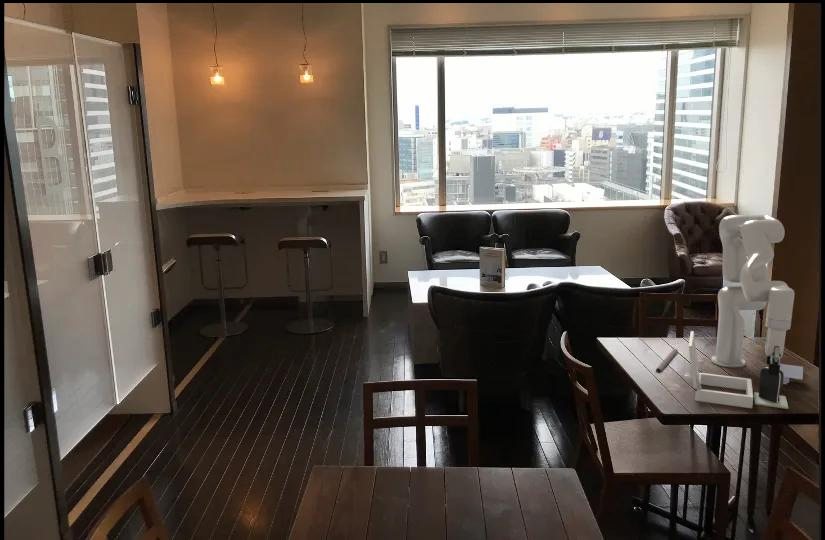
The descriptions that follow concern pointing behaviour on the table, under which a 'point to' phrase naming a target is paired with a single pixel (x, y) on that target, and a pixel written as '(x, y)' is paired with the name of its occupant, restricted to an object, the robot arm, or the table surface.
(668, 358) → the metal rod
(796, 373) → the wedge on round base
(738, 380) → the white bent frame
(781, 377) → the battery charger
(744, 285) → the robot arm
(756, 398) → the pad
